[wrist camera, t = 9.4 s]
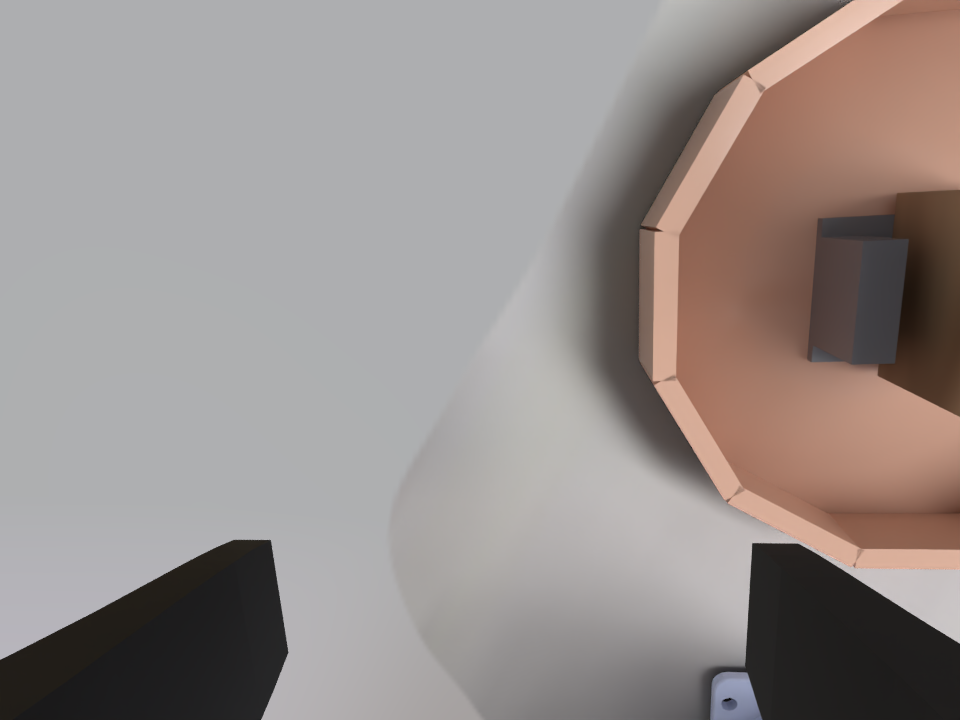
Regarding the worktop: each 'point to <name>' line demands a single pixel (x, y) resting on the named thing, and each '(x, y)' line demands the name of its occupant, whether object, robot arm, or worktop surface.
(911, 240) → the tan rectangular block
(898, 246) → the candle dish
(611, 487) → the worktop surface
